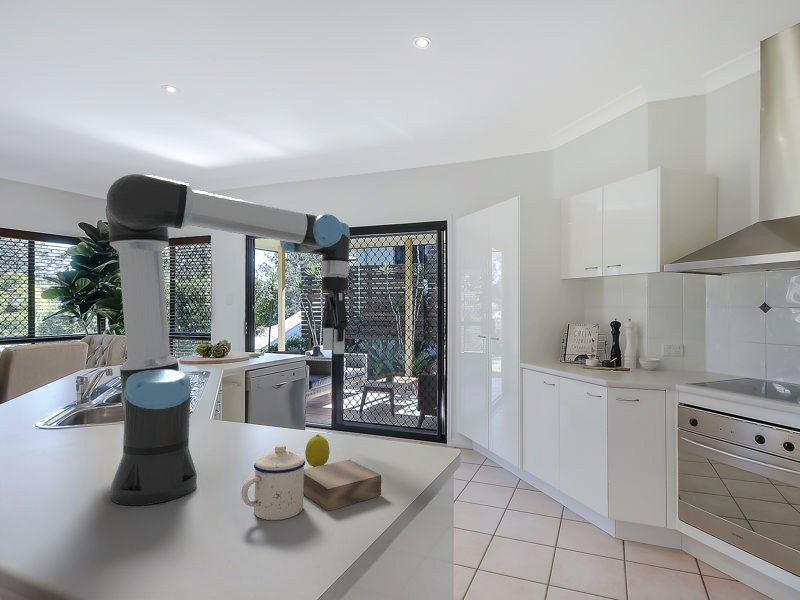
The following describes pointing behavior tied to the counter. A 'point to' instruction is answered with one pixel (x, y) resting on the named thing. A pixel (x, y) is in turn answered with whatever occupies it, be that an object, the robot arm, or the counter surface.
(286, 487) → the teacup with lid
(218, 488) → the counter surface
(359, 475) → the walnut plinth
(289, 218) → the robot arm
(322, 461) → the lemon
